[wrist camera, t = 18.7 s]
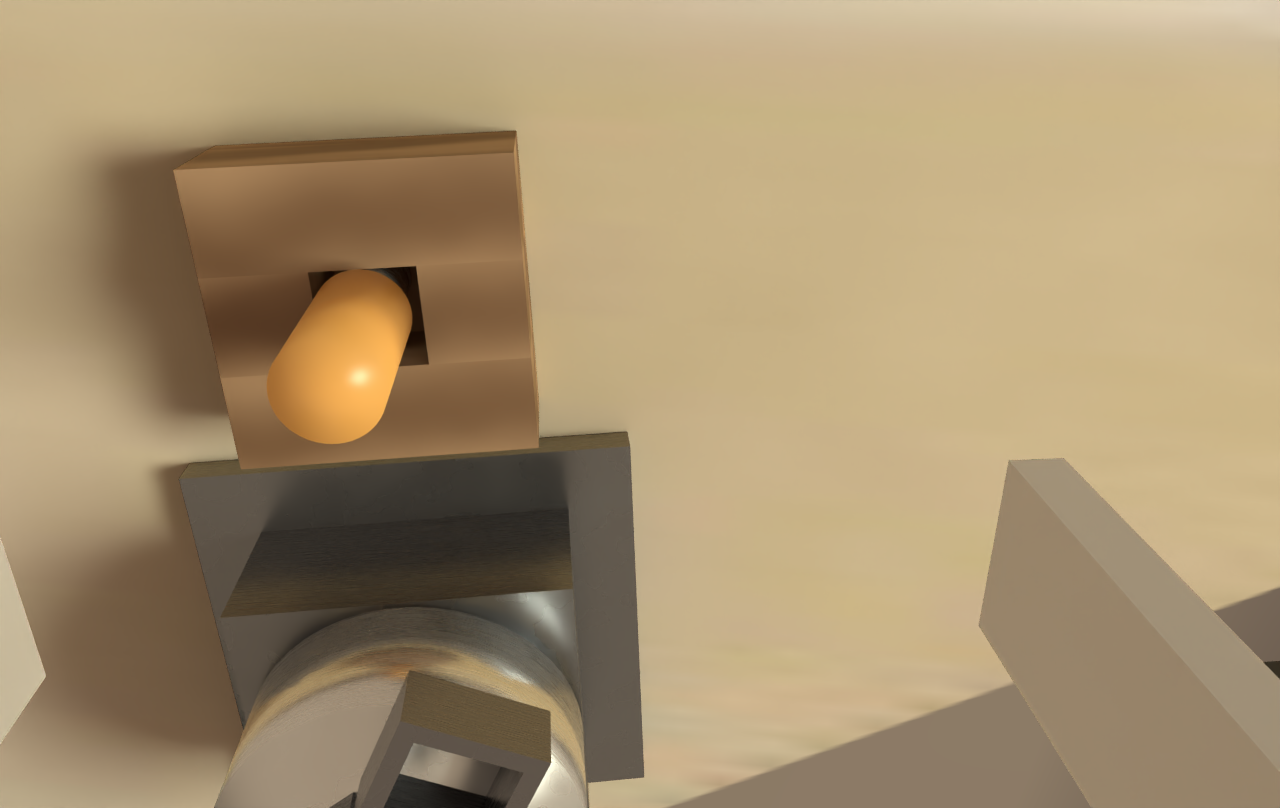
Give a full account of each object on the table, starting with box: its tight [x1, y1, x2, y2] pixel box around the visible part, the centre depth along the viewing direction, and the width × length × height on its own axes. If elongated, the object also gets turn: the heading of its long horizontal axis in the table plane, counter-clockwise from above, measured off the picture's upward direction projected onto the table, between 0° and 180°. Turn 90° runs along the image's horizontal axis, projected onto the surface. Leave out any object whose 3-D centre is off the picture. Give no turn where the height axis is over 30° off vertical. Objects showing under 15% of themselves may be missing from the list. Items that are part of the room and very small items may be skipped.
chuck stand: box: [179, 432, 644, 808], centre depth 46 cm, size 20×20×8 cm
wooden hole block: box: [173, 131, 539, 469], centre depth 40 cm, size 12×12×5 cm
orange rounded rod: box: [267, 266, 412, 444], centre depth 36 cm, size 4×4×12 cm
